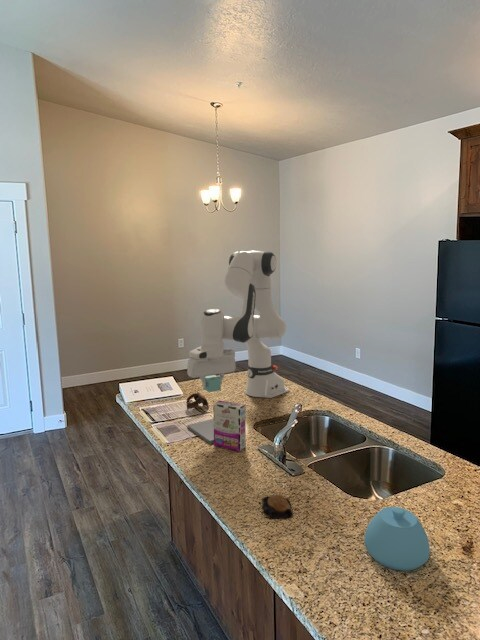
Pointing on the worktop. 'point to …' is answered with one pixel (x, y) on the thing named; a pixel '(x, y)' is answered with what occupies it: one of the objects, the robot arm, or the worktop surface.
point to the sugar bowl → (397, 539)
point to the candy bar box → (229, 425)
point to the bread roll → (277, 507)
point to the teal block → (213, 383)
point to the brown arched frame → (197, 401)
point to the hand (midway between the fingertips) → (212, 385)
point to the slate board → (204, 430)
